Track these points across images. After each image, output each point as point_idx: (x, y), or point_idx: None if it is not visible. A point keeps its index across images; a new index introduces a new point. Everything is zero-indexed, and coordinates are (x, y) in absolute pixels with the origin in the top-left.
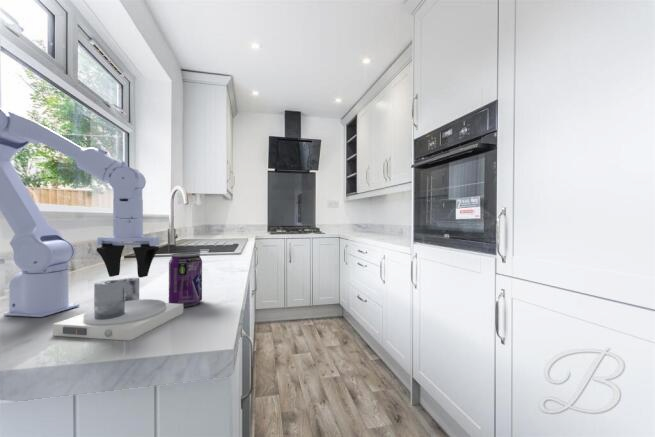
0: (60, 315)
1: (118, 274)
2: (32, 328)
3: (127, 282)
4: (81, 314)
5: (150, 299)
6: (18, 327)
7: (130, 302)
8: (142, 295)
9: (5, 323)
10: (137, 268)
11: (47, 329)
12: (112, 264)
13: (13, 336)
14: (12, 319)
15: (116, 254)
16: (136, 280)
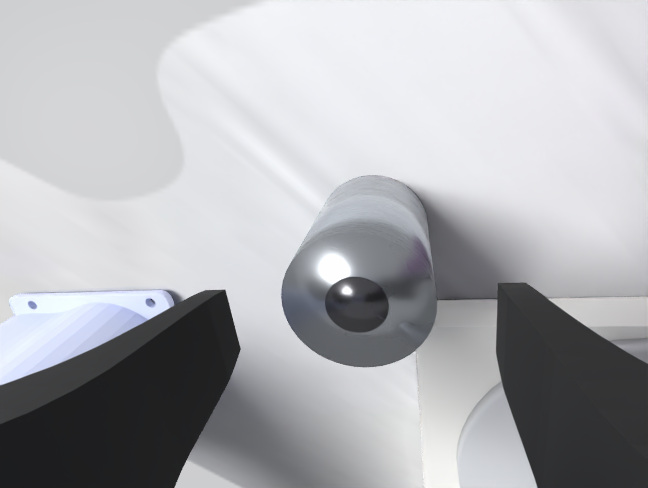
0: (234, 382)
1: (223, 295)
2: (297, 475)
3: (411, 350)
4: (425, 486)
5: (645, 352)
6: (246, 471)
7: None
8: (265, 23)
9: None
10: (520, 434)
11: (352, 480)
12: (186, 412)
13: None
14: None
15: (100, 457)
16: (436, 301)
